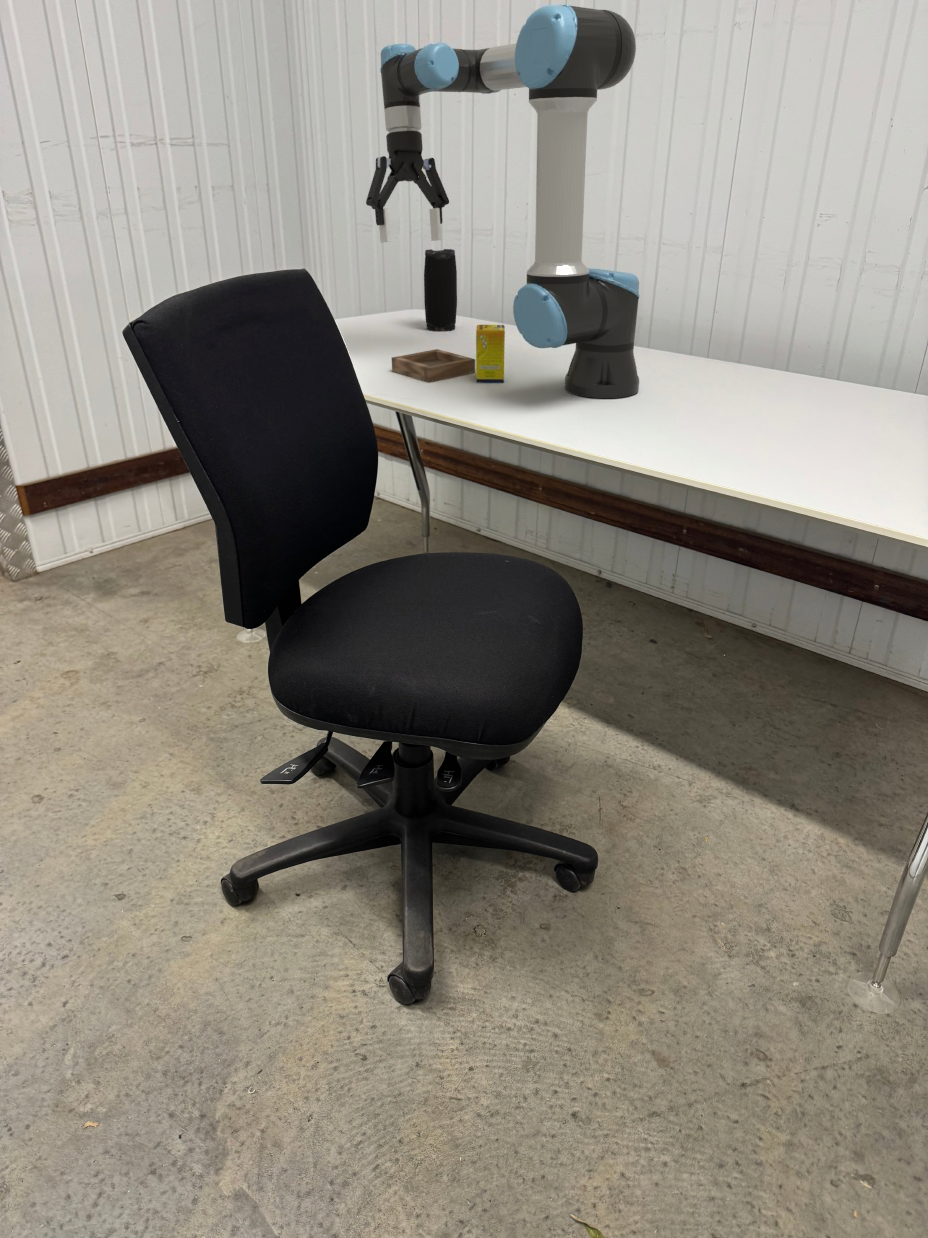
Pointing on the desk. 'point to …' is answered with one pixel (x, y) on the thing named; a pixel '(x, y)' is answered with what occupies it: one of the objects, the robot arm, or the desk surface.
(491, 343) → the supplement box
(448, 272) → the portable speaker
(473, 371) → the socket block
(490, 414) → the desk surface
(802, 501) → the desk surface
